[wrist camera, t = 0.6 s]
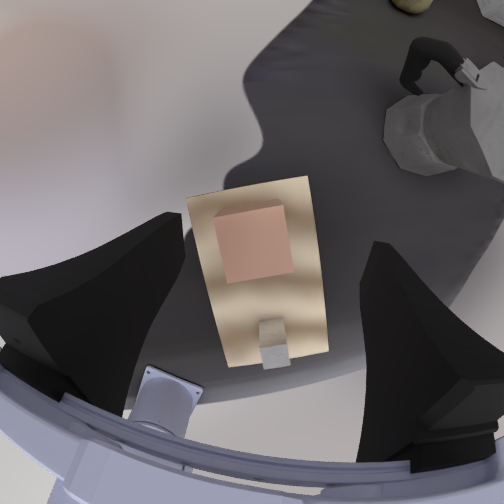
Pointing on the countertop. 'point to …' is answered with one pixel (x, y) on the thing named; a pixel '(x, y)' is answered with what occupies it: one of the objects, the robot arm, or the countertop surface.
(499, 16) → the skincare box
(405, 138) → the coffeepot
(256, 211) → the salmon orange cube
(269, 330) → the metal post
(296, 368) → the countertop surface
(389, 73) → the countertop surface
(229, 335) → the maple board
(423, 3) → the fennel bulb
